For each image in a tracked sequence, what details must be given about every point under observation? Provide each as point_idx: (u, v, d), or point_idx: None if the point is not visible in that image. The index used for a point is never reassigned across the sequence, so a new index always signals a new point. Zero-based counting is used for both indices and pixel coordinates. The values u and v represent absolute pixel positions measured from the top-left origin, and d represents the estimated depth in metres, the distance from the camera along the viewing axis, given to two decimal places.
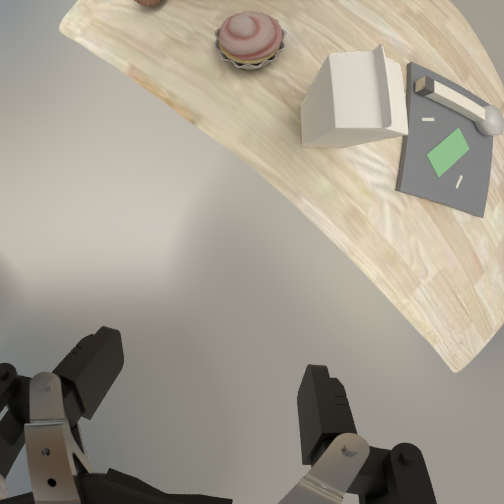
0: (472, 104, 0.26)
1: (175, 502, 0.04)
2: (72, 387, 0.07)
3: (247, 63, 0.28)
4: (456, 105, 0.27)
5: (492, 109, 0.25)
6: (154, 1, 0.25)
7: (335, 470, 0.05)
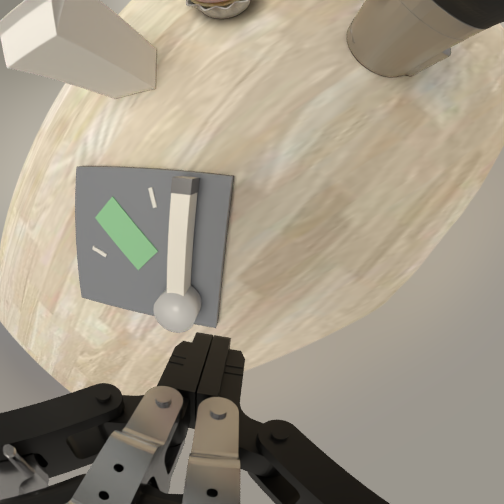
0: (179, 268, 0.29)
1: (175, 502, 0.04)
2: (188, 398, 0.08)
3: None
4: None
5: (186, 310, 0.30)
6: None
7: (216, 436, 0.06)
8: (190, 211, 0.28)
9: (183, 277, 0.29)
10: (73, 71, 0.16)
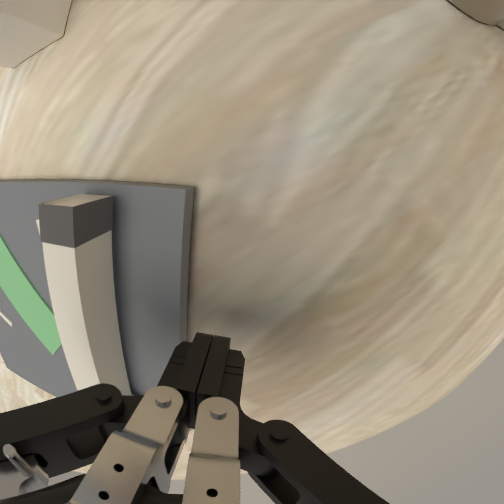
0: None
1: (175, 502, 0.04)
2: (188, 398, 0.08)
3: None
4: None
5: None
6: None
7: (216, 436, 0.06)
8: (88, 282, 0.10)
9: None
10: None
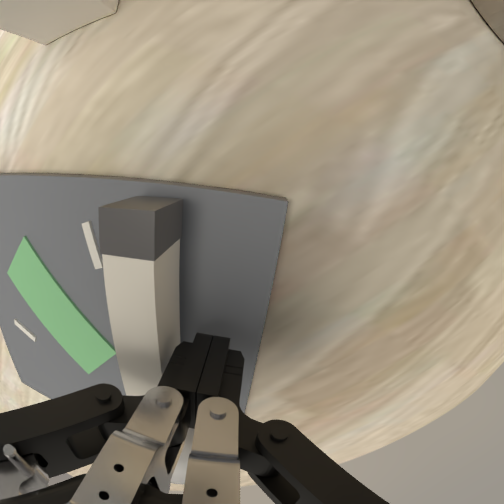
0: None
1: (175, 502, 0.04)
2: (188, 399, 0.08)
3: None
4: None
5: (184, 467, 0.12)
6: None
7: (215, 436, 0.06)
8: (162, 299, 0.10)
9: None
10: None
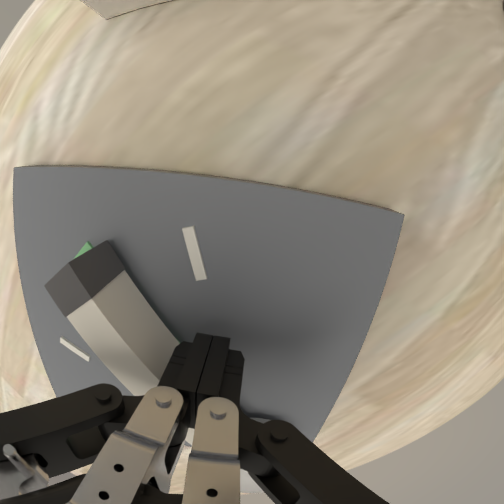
0: None
1: (175, 502, 0.04)
2: (188, 399, 0.08)
3: None
4: None
5: None
6: None
7: (215, 436, 0.06)
8: (127, 325, 0.10)
9: None
10: None
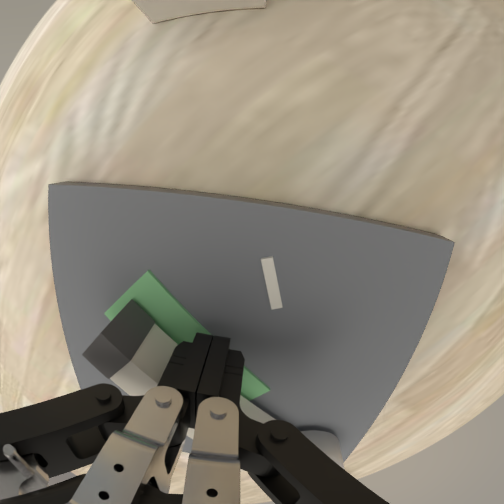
0: None
1: (175, 502, 0.04)
2: (188, 398, 0.08)
3: None
4: None
5: None
6: None
7: (216, 436, 0.06)
8: None
9: None
10: None
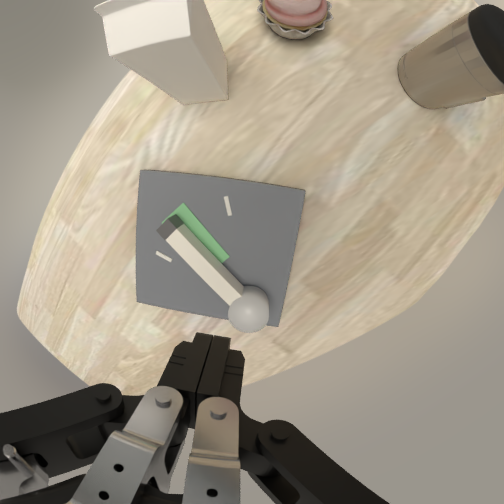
0: (219, 281, 0.32)
1: (175, 502, 0.04)
2: (188, 398, 0.08)
3: (262, 3, 0.22)
4: None
5: (253, 303, 0.33)
6: None
7: (216, 436, 0.06)
8: (188, 238, 0.32)
9: (228, 283, 0.33)
10: (170, 74, 0.19)
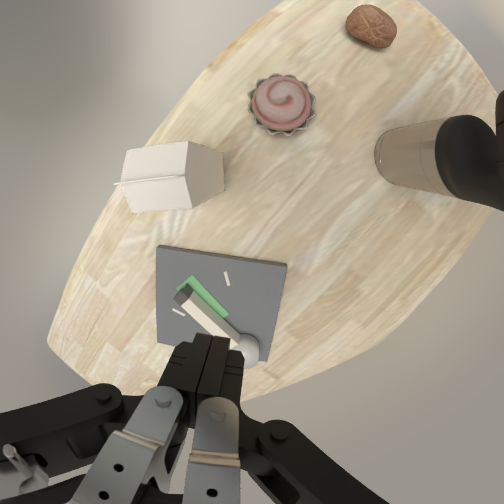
0: (222, 334, 0.43)
1: (175, 502, 0.04)
2: (188, 398, 0.08)
3: (252, 101, 0.33)
4: None
5: (246, 350, 0.43)
6: (349, 29, 0.29)
7: (216, 436, 0.06)
8: (198, 304, 0.42)
9: (228, 336, 0.43)
10: None
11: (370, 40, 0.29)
